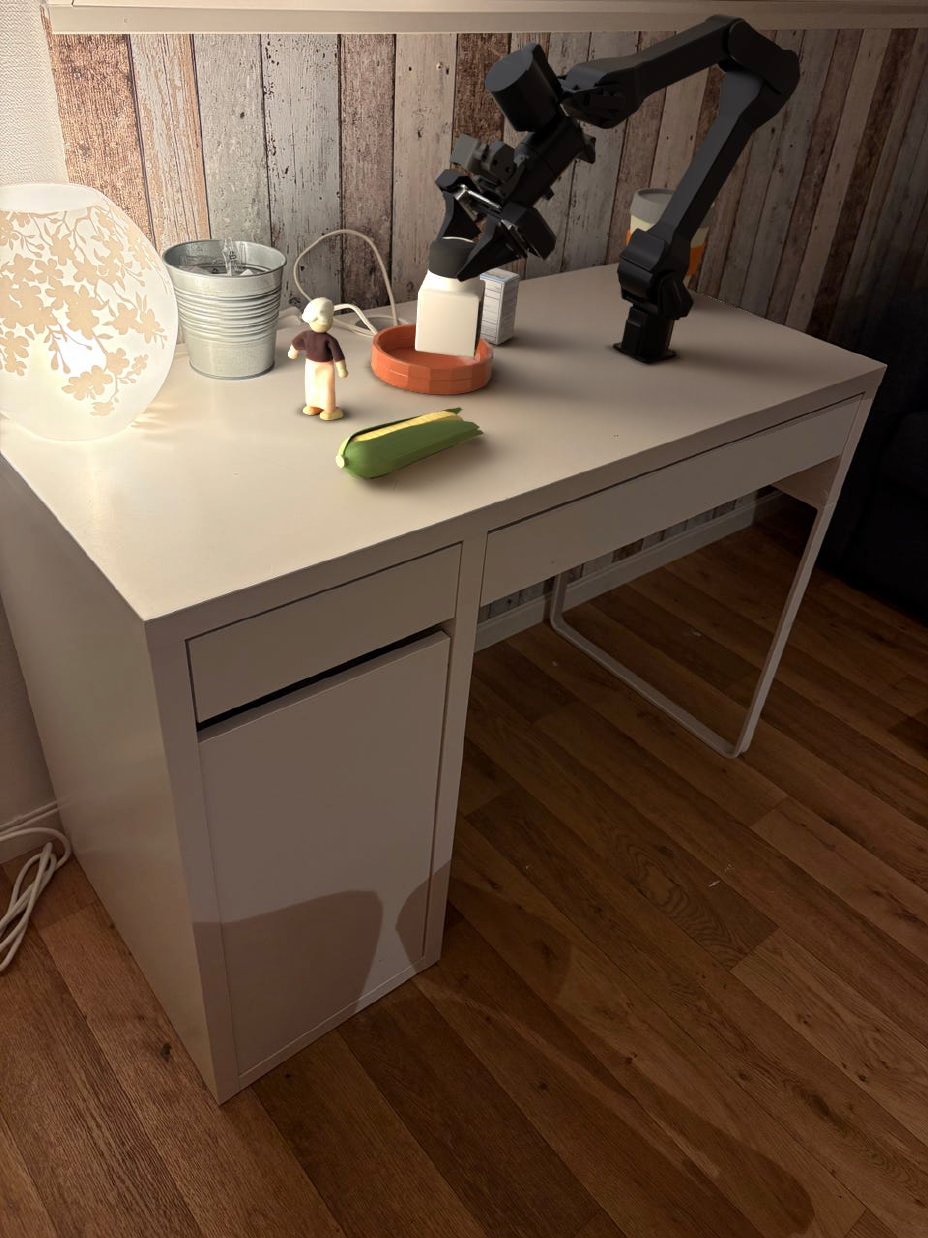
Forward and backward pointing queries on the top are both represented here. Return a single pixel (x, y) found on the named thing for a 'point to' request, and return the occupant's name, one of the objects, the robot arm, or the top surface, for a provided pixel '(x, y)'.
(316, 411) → the grandmother figurine
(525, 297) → the top surface
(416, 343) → the medicine bottle
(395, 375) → the plant saucer
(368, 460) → the edible corn
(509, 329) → the medicine box
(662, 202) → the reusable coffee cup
